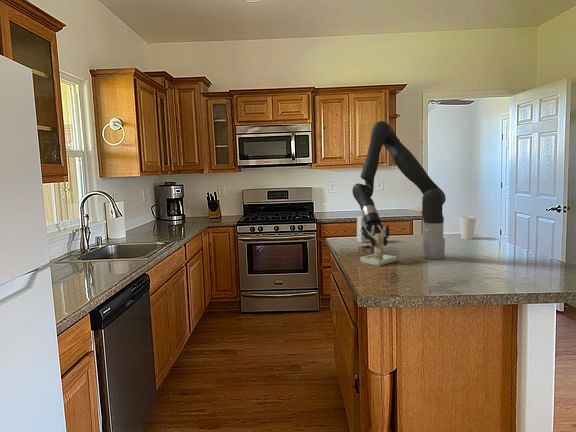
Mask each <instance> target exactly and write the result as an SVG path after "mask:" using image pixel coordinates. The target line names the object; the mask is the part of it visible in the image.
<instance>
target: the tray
mask: <svg viewBox="0 0 576 432" xmlns="http://www.w3.org/2000/svg"><path fill="white" fill-rule="evenodd" d="M397 260H398V258H397V256H395V255H392V254H391V255H390V254H385V253H383V260H375V259H374V254H371V255H363V256H360V259H359V261H360V263H365V264H368V265H369V264H370V265H373V266H374V265H375V266H380V267H381V266H383V265H384V266H385V265H388V264H391V263H394V262H397Z"/></svg>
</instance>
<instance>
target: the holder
mask: <svg viewBox="0 0 576 432" xmlns="http://www.w3.org/2000/svg"><path fill="white" fill-rule="evenodd" d="M374 248H375V246H374V247H373V245H371V244H367V245H363V246H359V247H358V255H361V254H362V255H363V256H367V255H371V254H374ZM362 255H361V256H362Z"/></svg>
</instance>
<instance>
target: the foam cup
mask: <svg viewBox="0 0 576 432" xmlns="http://www.w3.org/2000/svg"><path fill="white" fill-rule="evenodd" d="M458 221H459V229H460V230H459V231H460V238H461V240H462V239H463V240H473V238H474V233H475V226H476V222H477V217H476V216H473V215H472V216H470V215H464V216H463V215H460V216H459V217H458Z"/></svg>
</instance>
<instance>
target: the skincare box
mask: <svg viewBox="0 0 576 432" xmlns="http://www.w3.org/2000/svg"><path fill="white" fill-rule="evenodd" d="M362 227H366V226H365V222H364V219H363V216H357V219H356V241H357V242H359V243H371V242H370V240H369V239H365V237H364V236H363V234H362V232H361V228H362ZM366 231H367V230H366ZM367 233H368V234H369V235H370V232H369V231H367Z"/></svg>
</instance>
